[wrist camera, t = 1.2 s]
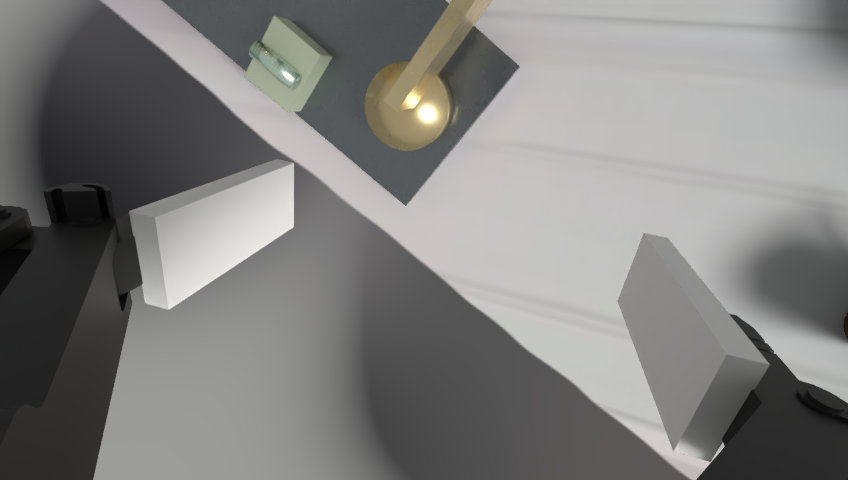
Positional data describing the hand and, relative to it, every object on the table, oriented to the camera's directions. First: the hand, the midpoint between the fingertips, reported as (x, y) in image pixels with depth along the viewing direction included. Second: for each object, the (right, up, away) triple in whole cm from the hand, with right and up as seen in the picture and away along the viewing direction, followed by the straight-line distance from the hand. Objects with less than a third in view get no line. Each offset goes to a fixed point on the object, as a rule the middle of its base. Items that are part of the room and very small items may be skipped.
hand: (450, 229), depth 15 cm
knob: (0, +14, +20) cm, 24 cm away
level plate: (-10, +19, +23) cm, 31 cm away
